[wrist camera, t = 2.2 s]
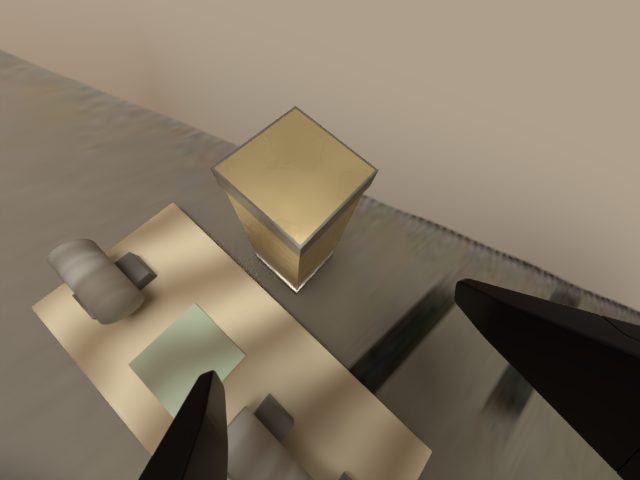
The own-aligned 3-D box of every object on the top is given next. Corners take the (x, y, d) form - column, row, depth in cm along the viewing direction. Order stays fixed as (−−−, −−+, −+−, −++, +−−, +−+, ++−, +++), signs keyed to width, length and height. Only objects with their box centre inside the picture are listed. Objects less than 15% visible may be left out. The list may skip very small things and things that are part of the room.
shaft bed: (423, 443, 18) (469, 485, 13) (317, 637, 14) (329, 789, 10) (179, 208, 22) (148, 177, 18) (47, 308, 18) (-37, 302, 14)
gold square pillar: (332, 255, 22) (378, 170, 10) (296, 294, 21) (300, 248, 9) (294, 222, 23) (295, 106, 11) (257, 257, 22) (210, 168, 9)
